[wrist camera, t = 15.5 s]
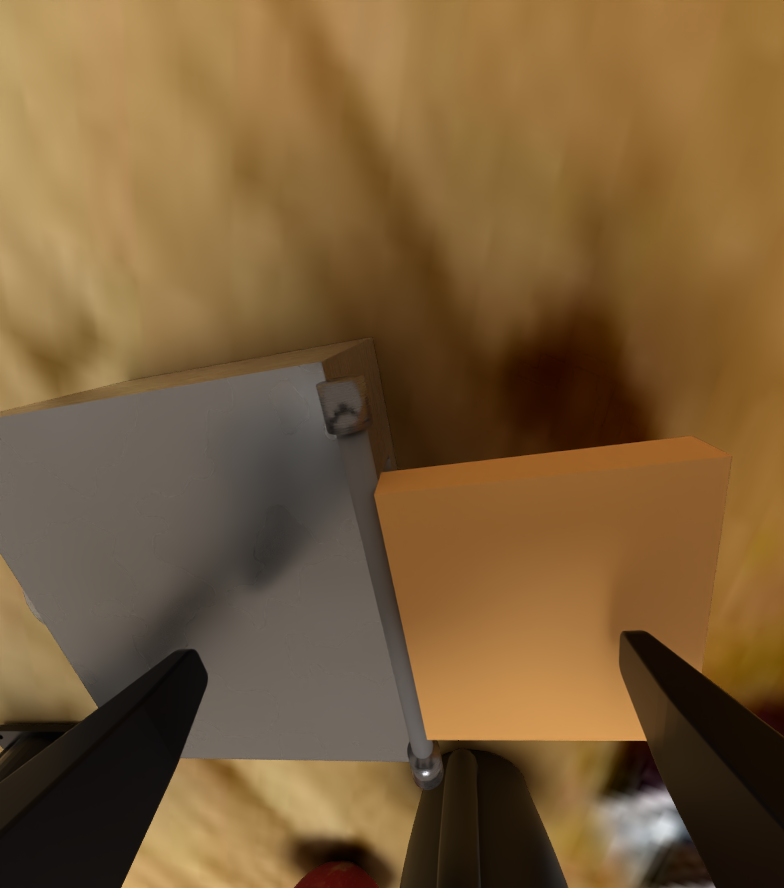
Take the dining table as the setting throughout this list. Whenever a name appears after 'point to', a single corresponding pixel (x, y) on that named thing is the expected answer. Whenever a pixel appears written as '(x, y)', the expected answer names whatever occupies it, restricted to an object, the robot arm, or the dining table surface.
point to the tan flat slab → (537, 581)
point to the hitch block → (216, 548)
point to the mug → (479, 830)
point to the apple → (337, 876)
